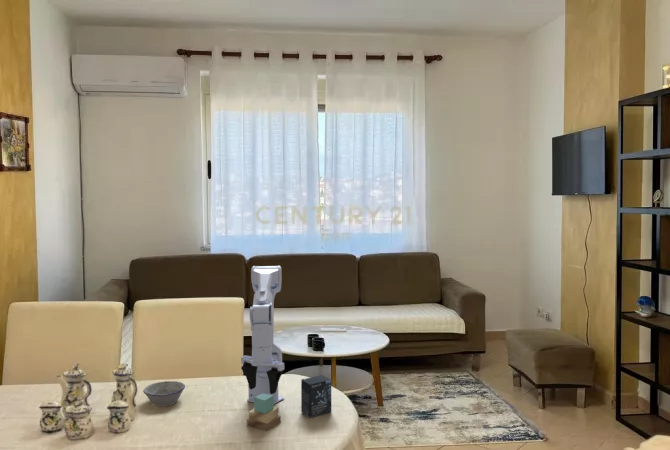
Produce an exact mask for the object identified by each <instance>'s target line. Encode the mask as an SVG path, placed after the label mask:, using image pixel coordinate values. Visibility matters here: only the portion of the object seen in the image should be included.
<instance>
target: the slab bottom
mask: <svg viewBox="0 0 670 450" xmlns="http://www.w3.org/2000/svg"><path fill="white" fill-rule="evenodd" d="M281 421H282V420H281V415H278V416H277V417H276V418H274V419H273V420H272V421H270V422H269V423H268V424H267V423H262V422H256V421H251V420H249V418H248V419H246V427H250V428H252V429H256V430H260V431H264V432H267V431H269V430H271V429H272V428H274V427H276V426H277V425H279V424H281Z"/></svg>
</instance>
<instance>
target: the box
mask: <svg viewBox="0 0 670 450" xmlns="http://www.w3.org/2000/svg"><path fill="white" fill-rule="evenodd" d="M300 384H301V387H300V388H301V391H300V393H301V395H300V396H301V403H300V404H301V407H300V408H301V410H300V412H301V413H302V414H304V415H305V416H307V417H308V418H314V417H317V416H320V415H321V416H322V415H326V414H329V413H332V379H330V378H329V377H328V376H327V377H326V376H325V375H324V374H320V375H316V376H312V377H307V378H301V383H300Z"/></svg>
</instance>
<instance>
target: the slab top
mask: <svg viewBox="0 0 670 450" xmlns="http://www.w3.org/2000/svg"><path fill="white" fill-rule="evenodd" d="M278 415H279V406H274V409H273V410H271V411H269V412H267V413H265V414H264V413H261V412H257V411H254V407H253V408H251V410H249V411H248V419H249V420H251V421H256V422H262V423H267V424H268V423H269V422H270V421H272V420H273V419H274V418H276V417H277V416H278ZM279 416H280V415H279Z"/></svg>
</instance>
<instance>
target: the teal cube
mask: <svg viewBox="0 0 670 450" xmlns="http://www.w3.org/2000/svg"><path fill="white" fill-rule="evenodd" d="M274 405H275V404H274V396H272V395H268V394H265V393H262V394H260V395H258V396H256V397H254V403H253V408H254V411H257V412H261V413H264V414H265V413H267V412H269V411H271V410H273V409H274Z"/></svg>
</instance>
